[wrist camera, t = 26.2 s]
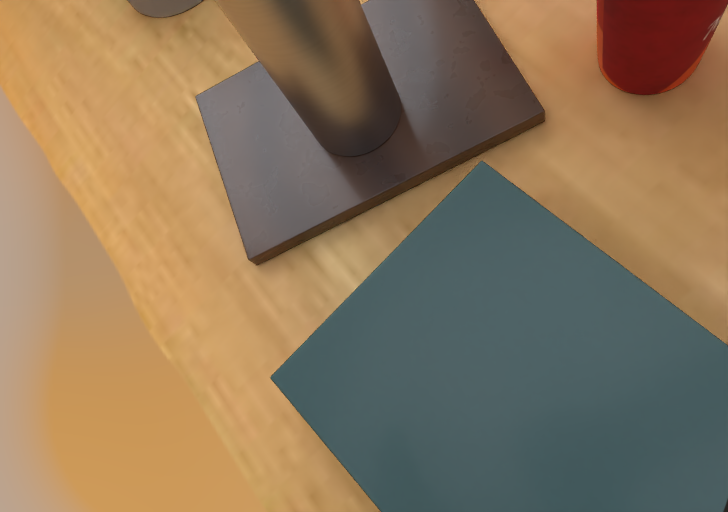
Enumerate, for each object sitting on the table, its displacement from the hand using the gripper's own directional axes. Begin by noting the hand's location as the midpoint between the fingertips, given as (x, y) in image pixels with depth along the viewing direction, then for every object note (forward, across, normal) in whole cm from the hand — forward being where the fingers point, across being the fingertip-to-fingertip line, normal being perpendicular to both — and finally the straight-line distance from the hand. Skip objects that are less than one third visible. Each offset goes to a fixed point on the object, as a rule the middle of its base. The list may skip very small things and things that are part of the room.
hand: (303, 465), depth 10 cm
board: (+32, -6, +5) cm, 33 cm away
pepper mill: (+30, -6, +5) cm, 31 cm away
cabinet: (+21, +7, -8) cm, 23 cm away
